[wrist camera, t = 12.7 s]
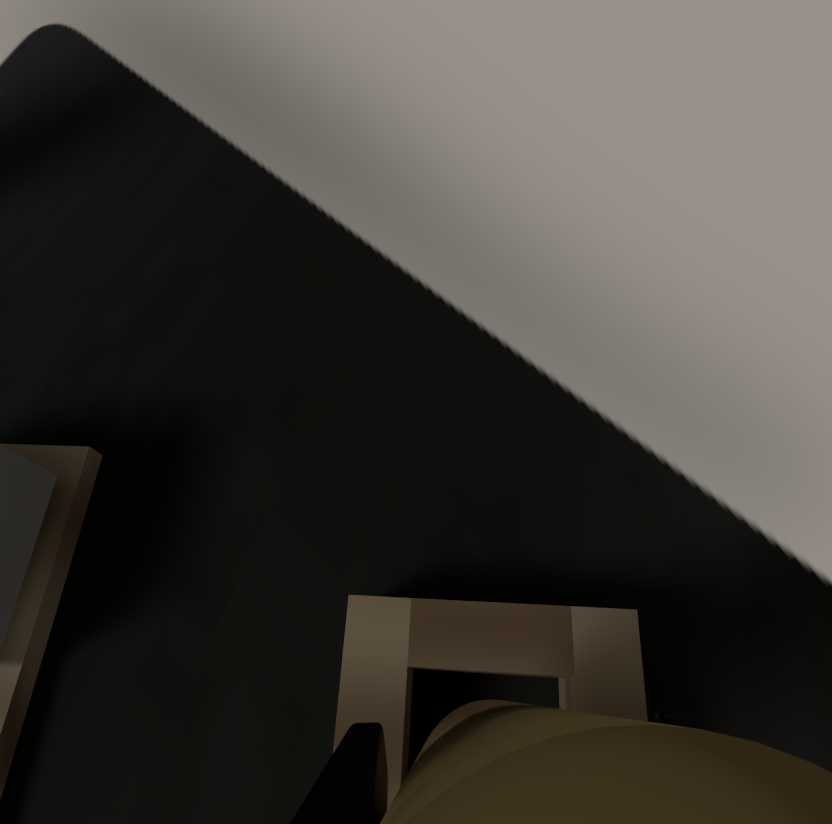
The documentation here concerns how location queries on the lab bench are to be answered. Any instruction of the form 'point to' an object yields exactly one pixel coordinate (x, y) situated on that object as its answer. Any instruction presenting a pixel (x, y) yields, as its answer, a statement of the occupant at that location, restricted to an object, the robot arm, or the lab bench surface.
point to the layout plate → (42, 583)
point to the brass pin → (600, 773)
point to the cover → (19, 523)
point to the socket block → (482, 659)
